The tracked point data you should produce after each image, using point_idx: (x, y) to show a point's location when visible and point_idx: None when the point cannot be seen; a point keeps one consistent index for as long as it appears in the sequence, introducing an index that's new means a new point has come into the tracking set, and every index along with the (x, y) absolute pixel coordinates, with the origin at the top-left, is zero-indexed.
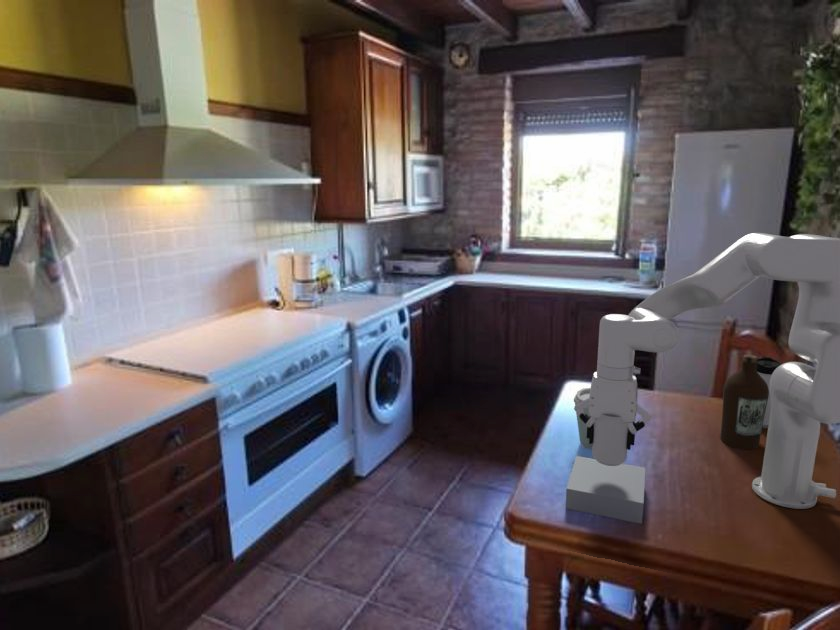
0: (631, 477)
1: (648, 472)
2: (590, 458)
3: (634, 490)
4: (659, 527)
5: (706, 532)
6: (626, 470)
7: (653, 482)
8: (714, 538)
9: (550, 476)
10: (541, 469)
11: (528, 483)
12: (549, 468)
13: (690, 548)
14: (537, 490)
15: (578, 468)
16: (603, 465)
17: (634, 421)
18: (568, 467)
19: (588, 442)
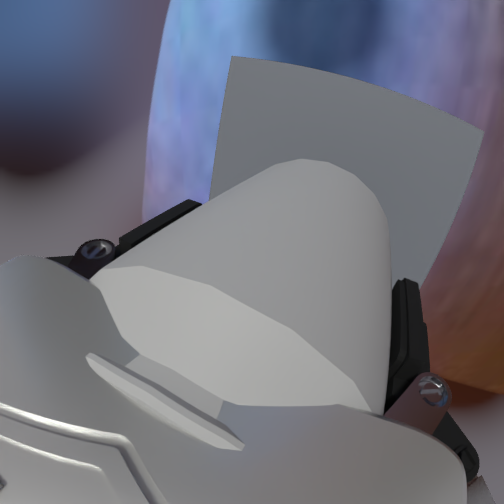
0: (414, 203)
1: (488, 48)
2: (282, 64)
3: (393, 282)
4: (423, 311)
5: (499, 324)
6: (411, 150)
7: (493, 106)
8: (499, 339)
9: (195, 94)
10: (174, 65)
11: (151, 141)
12: (193, 53)
13: (441, 363)
14: (170, 169)
15: (234, 146)
16: (328, 113)
17: (432, 433)
18: (243, 32)
19: None
